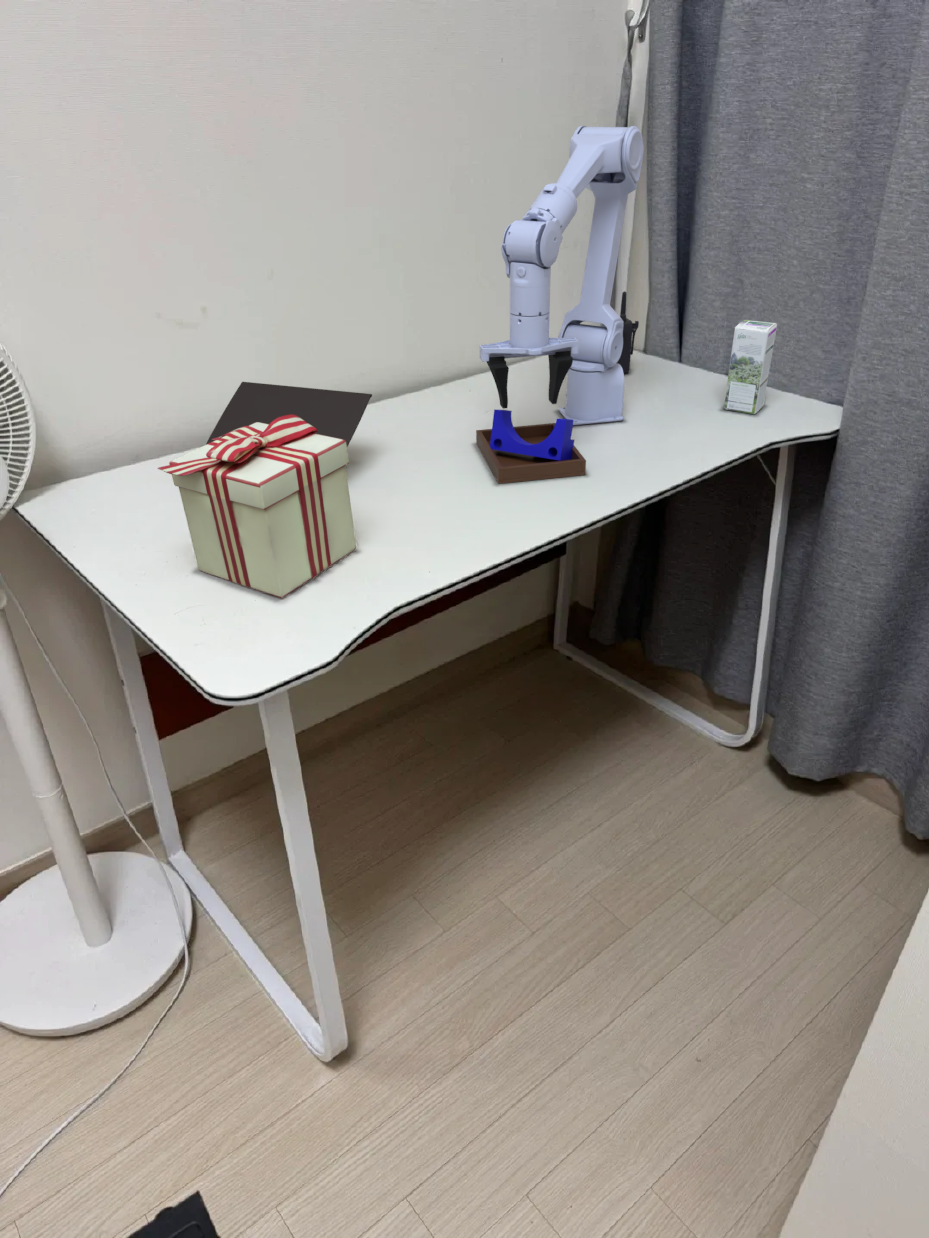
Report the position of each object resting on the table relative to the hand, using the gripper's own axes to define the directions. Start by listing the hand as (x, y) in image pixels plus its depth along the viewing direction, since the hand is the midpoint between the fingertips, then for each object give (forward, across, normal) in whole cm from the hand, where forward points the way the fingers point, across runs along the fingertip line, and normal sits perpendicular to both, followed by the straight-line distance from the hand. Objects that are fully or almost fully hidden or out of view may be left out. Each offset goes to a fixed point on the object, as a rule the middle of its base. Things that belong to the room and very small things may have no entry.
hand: (528, 404), depth 131 cm
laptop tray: (+9, -38, +1) cm, 40 cm away
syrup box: (+9, +42, +12) cm, 45 cm away
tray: (+9, 0, -1) cm, 9 cm away
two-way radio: (+9, +30, +38) cm, 49 cm away
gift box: (+9, -40, -25) cm, 48 cm away
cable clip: (+8, 0, -2) cm, 8 cm away
